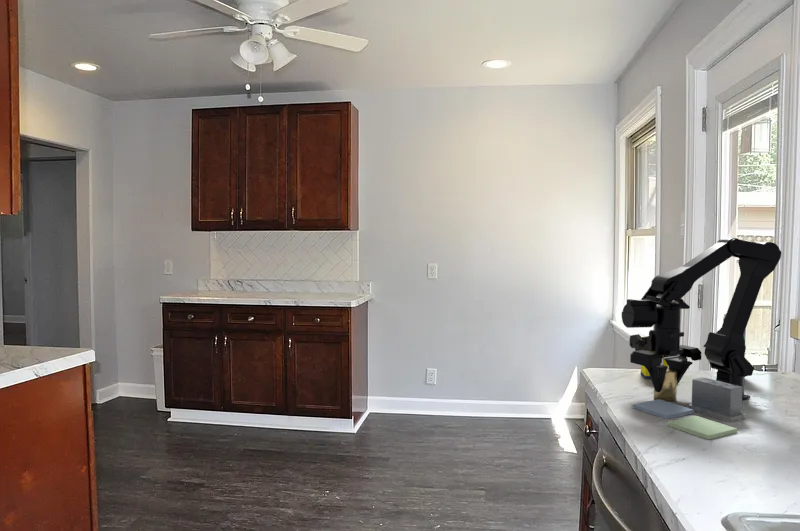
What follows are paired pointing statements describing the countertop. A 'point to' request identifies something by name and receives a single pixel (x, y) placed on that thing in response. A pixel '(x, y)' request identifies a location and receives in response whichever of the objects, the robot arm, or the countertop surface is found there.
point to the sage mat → (702, 427)
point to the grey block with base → (717, 399)
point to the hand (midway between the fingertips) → (665, 390)
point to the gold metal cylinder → (668, 387)
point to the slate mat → (663, 409)
